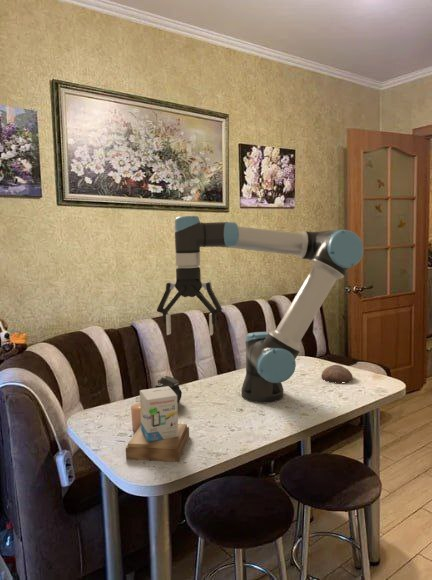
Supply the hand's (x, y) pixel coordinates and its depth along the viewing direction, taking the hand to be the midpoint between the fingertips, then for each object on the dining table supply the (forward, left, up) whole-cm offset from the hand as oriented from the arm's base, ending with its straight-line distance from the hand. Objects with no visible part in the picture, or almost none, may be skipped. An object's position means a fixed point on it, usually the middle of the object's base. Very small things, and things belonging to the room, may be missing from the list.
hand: (190, 334), depth 137 cm
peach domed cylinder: (+13, +11, -27) cm, 32 cm away
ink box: (+5, +22, -23) cm, 32 cm away
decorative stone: (-51, -41, -27) cm, 71 cm away
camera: (+11, -8, -27) cm, 30 cm away
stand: (+5, +22, -27) cm, 35 cm away
